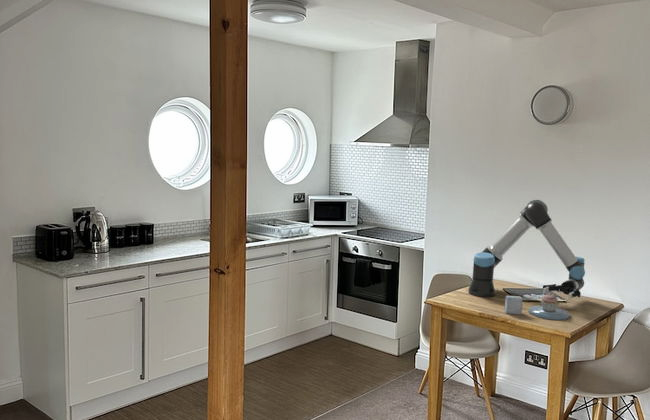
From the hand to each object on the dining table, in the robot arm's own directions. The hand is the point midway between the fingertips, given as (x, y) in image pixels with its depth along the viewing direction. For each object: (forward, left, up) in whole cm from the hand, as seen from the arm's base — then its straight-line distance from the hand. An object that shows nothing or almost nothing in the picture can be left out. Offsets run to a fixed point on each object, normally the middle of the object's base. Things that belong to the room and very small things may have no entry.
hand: (556, 293), depth 323 cm
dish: (-5, -7, -9) cm, 13 cm away
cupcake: (-5, -7, -8) cm, 12 cm away
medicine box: (-24, -9, -10) cm, 28 cm away
